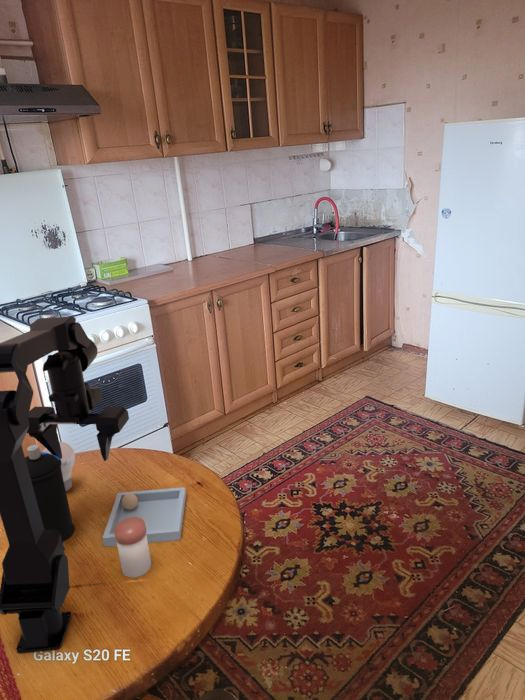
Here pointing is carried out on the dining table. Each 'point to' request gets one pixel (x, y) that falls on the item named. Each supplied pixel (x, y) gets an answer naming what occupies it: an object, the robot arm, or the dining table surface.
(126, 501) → the cork ball
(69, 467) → the light bulb
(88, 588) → the dining table surface
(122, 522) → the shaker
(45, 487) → the aerosol can
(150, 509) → the dish
